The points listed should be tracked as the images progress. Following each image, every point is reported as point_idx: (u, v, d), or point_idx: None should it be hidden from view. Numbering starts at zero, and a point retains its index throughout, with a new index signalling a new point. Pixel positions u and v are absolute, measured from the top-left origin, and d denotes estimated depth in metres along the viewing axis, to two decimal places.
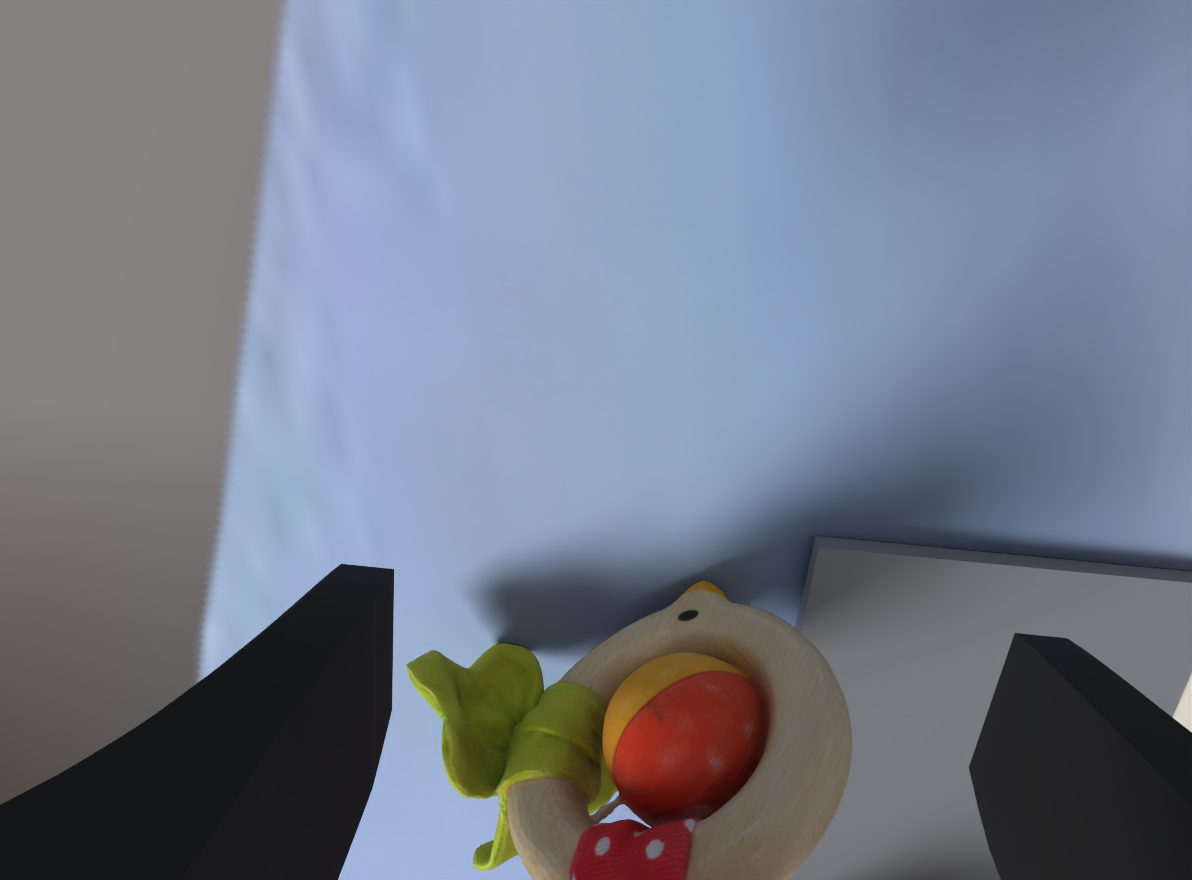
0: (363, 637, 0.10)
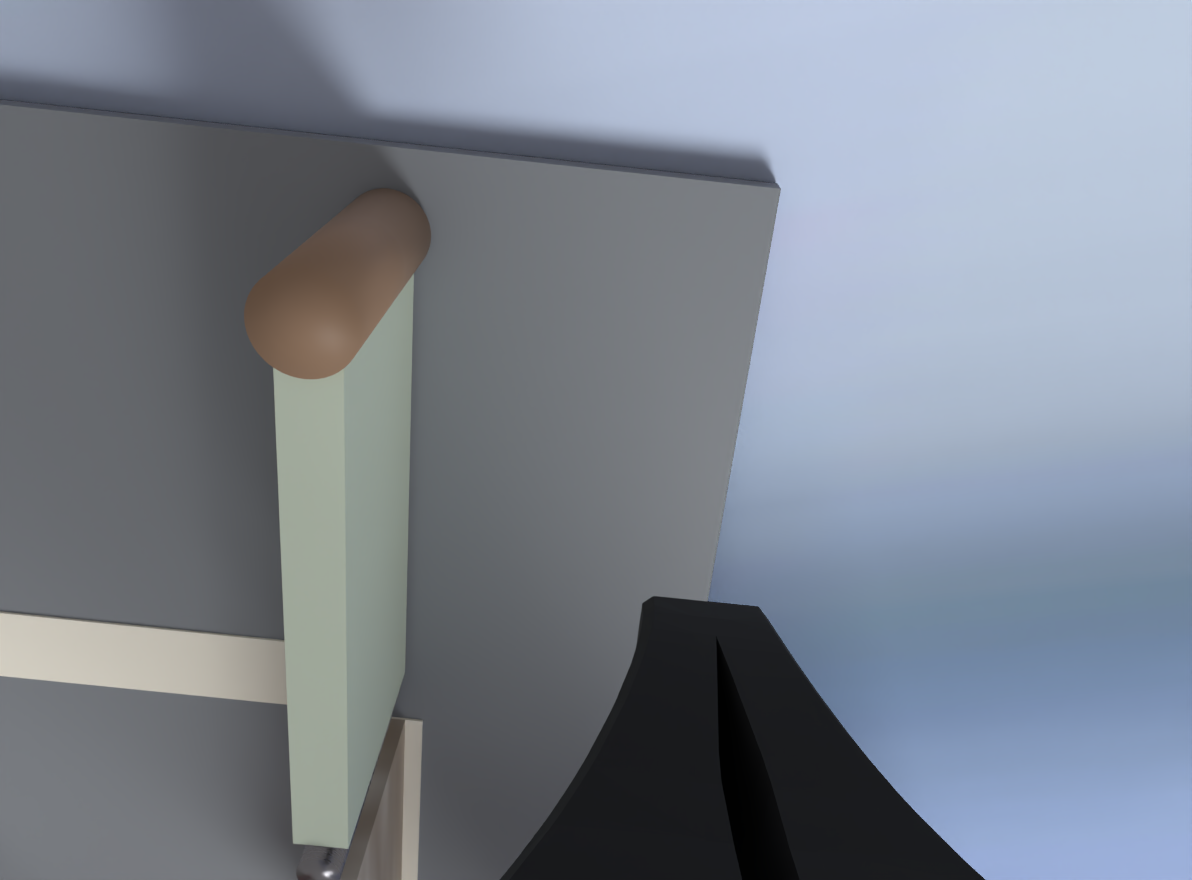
0: None
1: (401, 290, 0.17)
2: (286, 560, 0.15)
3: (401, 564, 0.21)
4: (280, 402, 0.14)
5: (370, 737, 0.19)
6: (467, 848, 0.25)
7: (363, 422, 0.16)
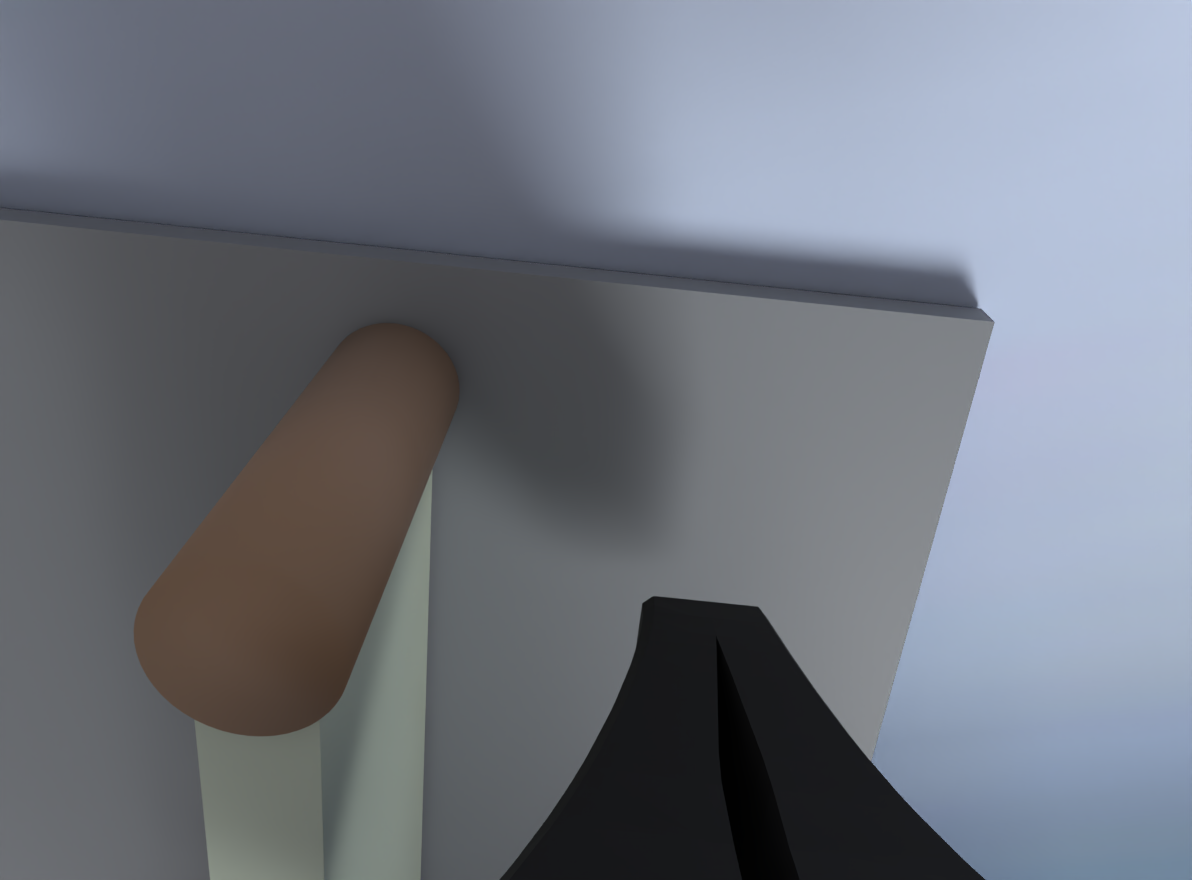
0: None
1: None
2: None
3: (414, 835, 0.14)
4: (208, 761, 0.08)
5: None
6: None
7: (356, 742, 0.09)
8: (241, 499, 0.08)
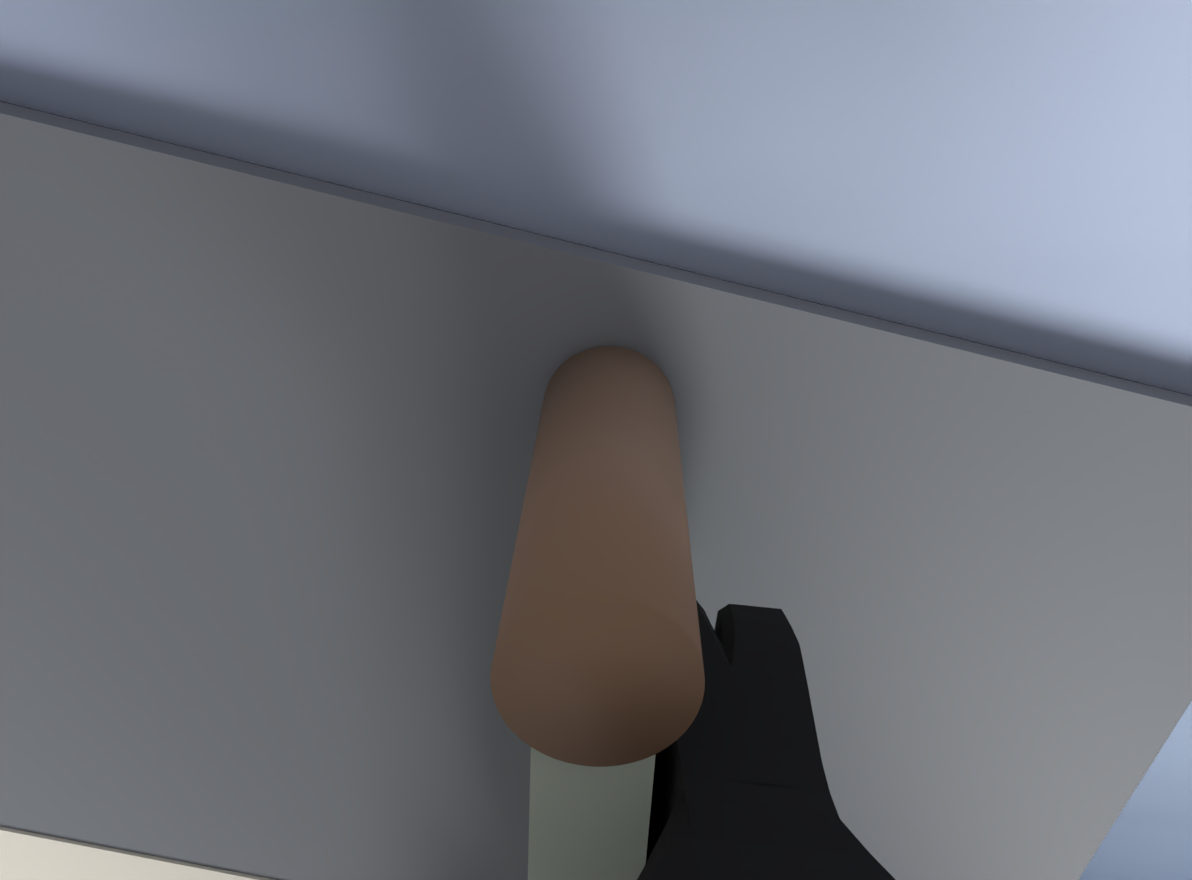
0: None
1: None
2: None
3: None
4: (539, 791, 0.08)
5: None
6: None
7: None
8: (567, 532, 0.08)
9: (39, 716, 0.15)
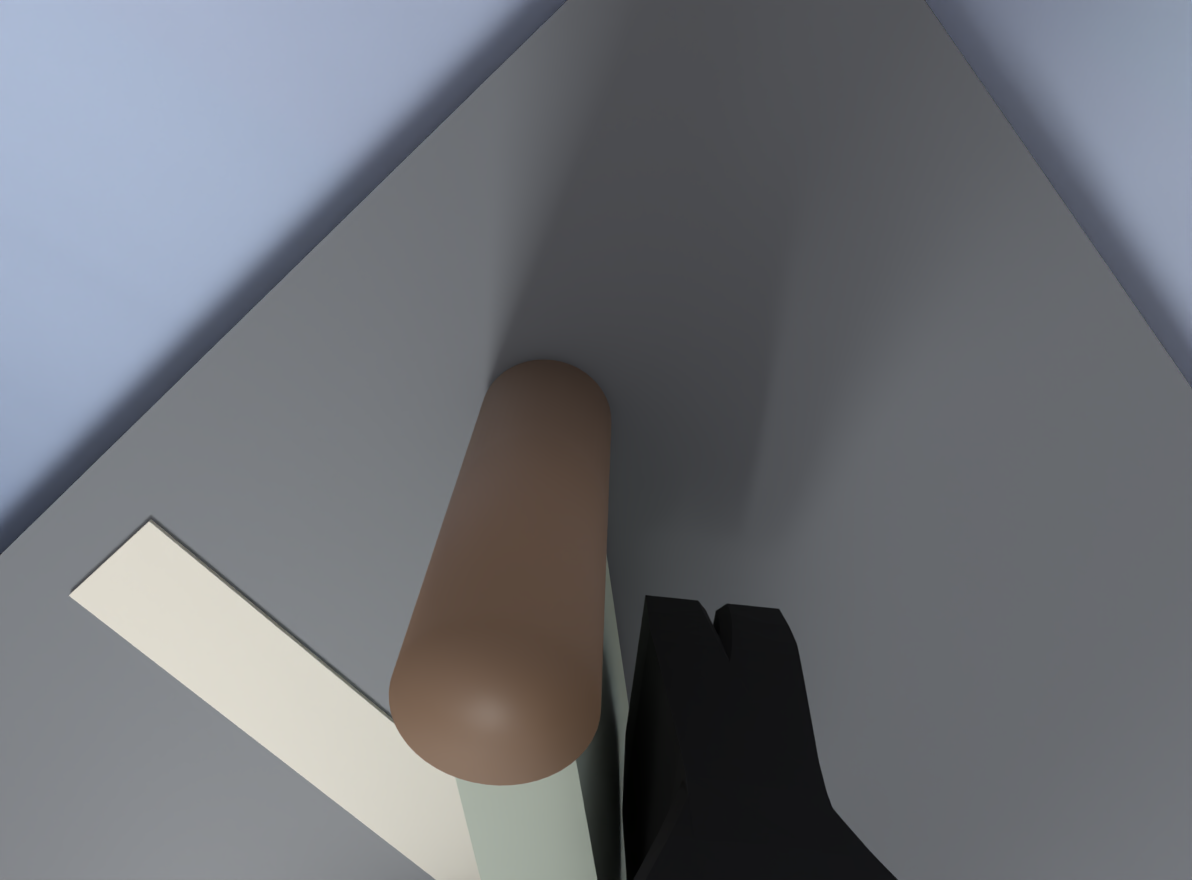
0: None
1: None
2: None
3: None
4: (475, 816, 0.08)
5: None
6: None
7: (598, 773, 0.10)
8: (456, 558, 0.08)
9: (391, 518, 0.13)
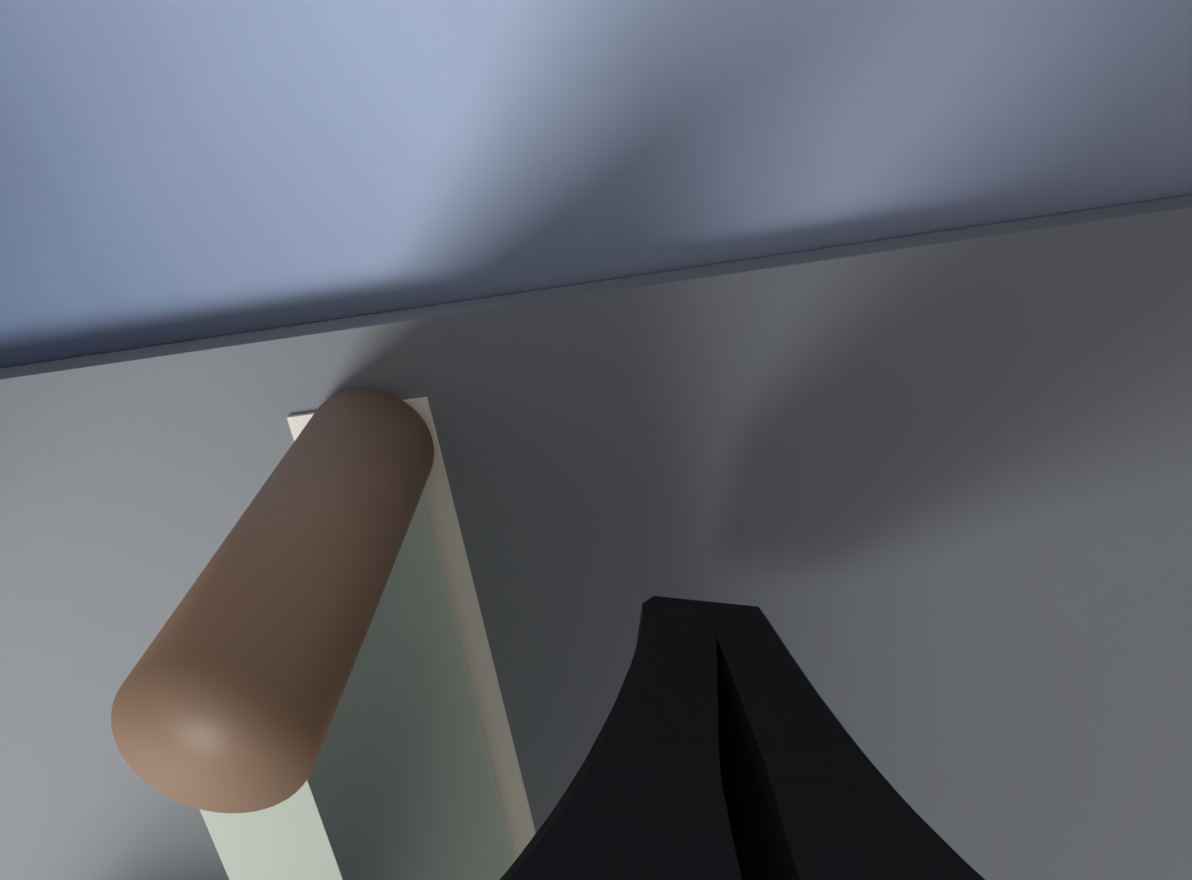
0: None
1: (396, 556, 0.11)
2: None
3: (504, 870, 0.15)
4: (222, 841, 0.09)
5: None
6: None
7: (377, 796, 0.10)
8: (195, 593, 0.08)
9: (644, 517, 0.13)
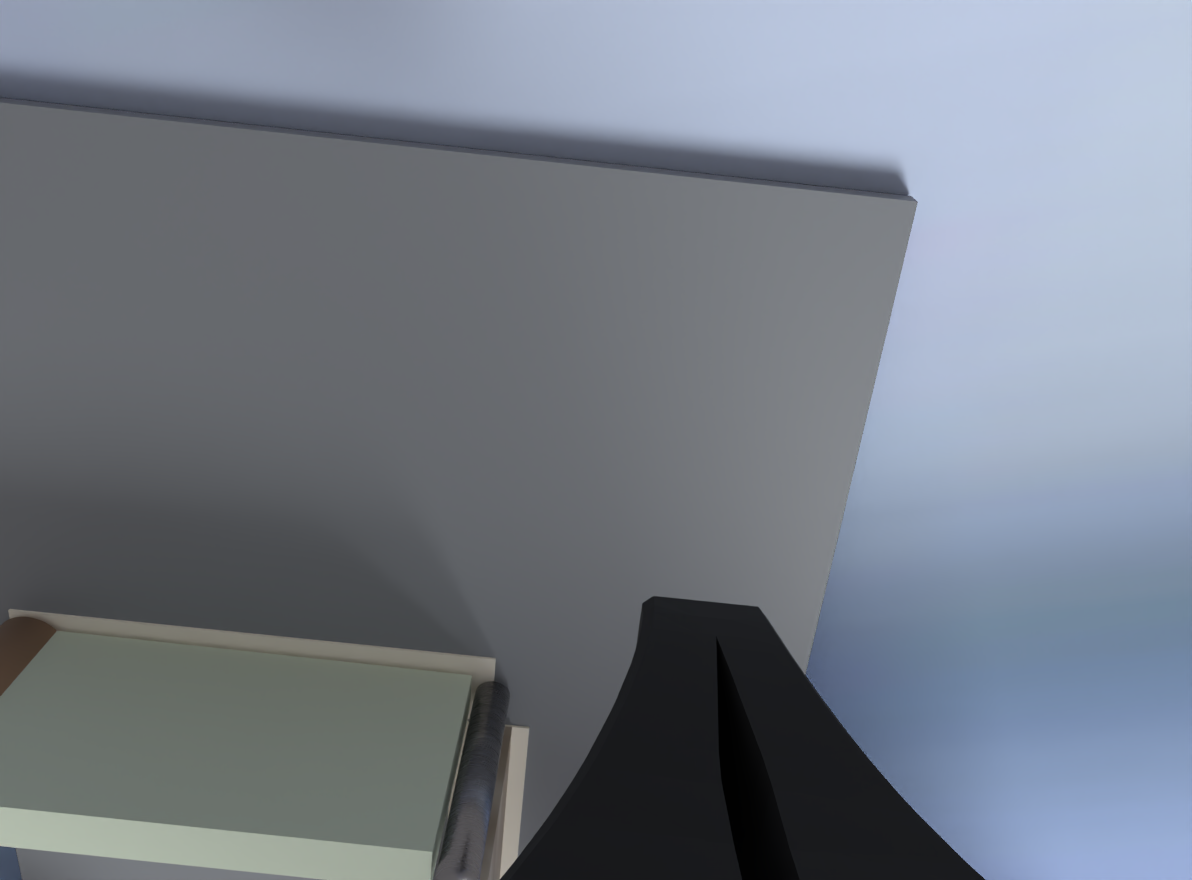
0: None
1: None
2: (105, 852, 0.18)
3: (319, 677, 0.22)
4: None
5: (391, 778, 0.20)
6: None
7: (25, 760, 0.19)
8: None
9: (88, 525, 0.22)
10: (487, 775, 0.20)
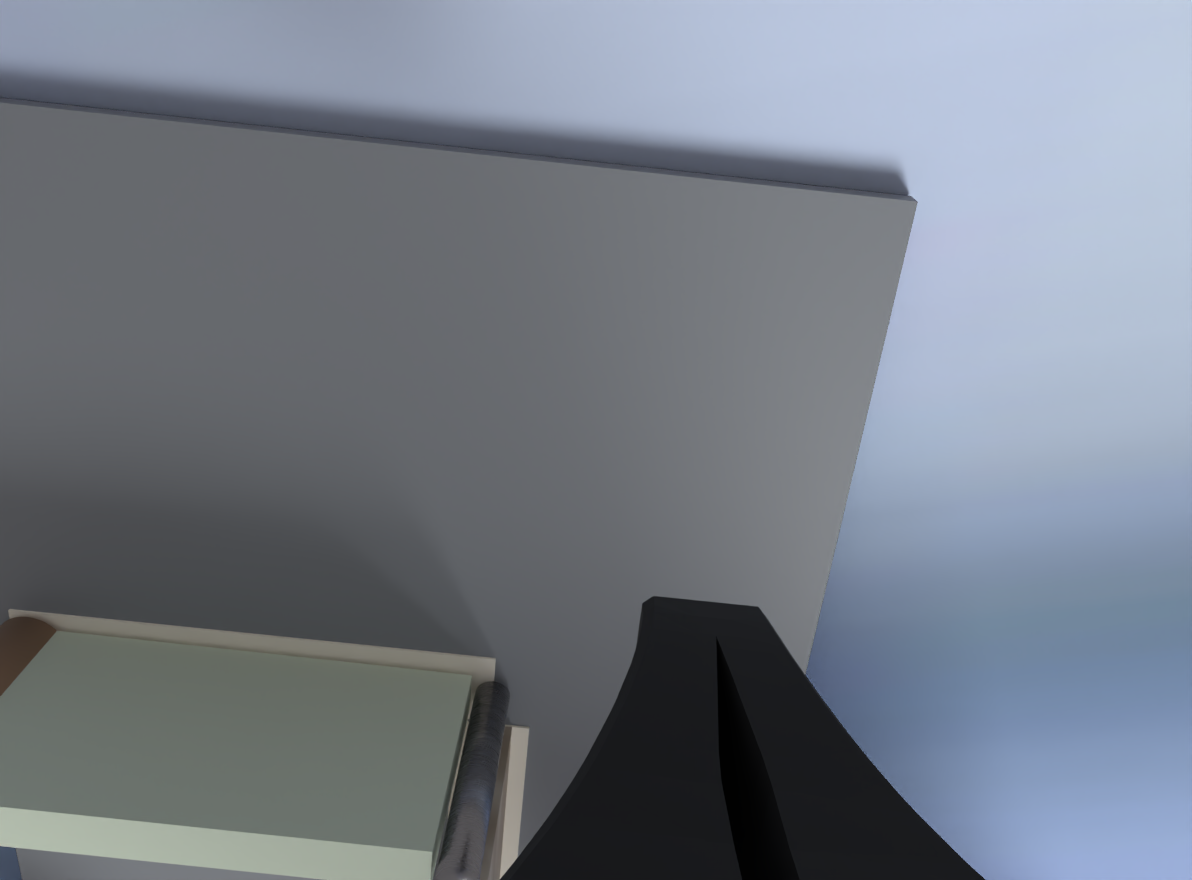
0: None
1: None
2: (105, 853, 0.18)
3: (319, 677, 0.22)
4: None
5: (391, 778, 0.20)
6: None
7: (25, 760, 0.19)
8: None
9: (88, 525, 0.22)
10: (487, 775, 0.20)
